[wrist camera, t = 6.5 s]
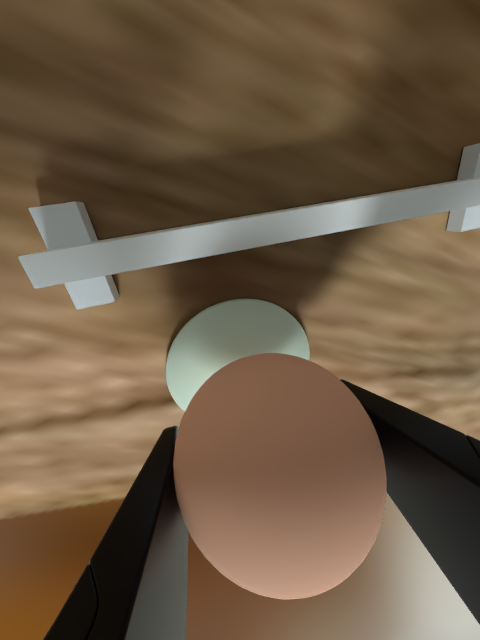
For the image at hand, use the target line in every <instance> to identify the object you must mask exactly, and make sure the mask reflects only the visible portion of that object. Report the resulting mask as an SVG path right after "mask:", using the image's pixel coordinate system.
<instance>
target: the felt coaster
mask: <svg viewBox="0 0 480 640" xmlns="http://www.w3.org/2000/svg"><path fill="white" fill-rule="evenodd" d="M261 353H282V354H288V355H293V356H297V357H300V358H304V359H306V360H309V357H310V351H309V343H308V340H307V336H306V334H305V332H304V330H303V328H302V327H301V325H300V324H299V323H298V321H297V320H296V319H295V318H294V317H293V316H292V315H291V314H289V313H288V312H287V311H286V310H284V309H283V308H281V307H279V306H278V305H275V304H273V303H270V302H268V301H264V300H260V299H251V298H244V299H233V300H228V301H224V302H221V303H218V304H215V305H213V306H210V307H208V308H206V309H205V310H203V311H201V312H200V313H198V314H197V315H195V316H194V317H193V318H192V319H190V320H189V321H188V322H187V323H186V324H185V325H184V326H183V327H182V329H181V330H180V331H179V333H178V334H177V336H176V337H175V339H174V341H173V342H172V345H171V347H170V350H169V353H168V358H167V364H166V380H167V385H168V388H169V391H170V393H171V395H172V397H173V399H174V400H175V402H176V403H177V404H178V405H179V407H180V408H181V409H182V410H184V411H186V409H187V407H188V405H189V403H190V401H191V399H192V398H193V396H194V395H195V393H196V392H197V391H198V390H199V388H200V387H201V386H202V385H203V384H204V382H205V381H206V380H207V379H208V378H209V377H211V376H212V375H213V374H214V373H215V372H217V371H218V370H220V369H221V368H222V367H224V366H226V365H228V364H229V363H231V362H233V361H236V360H238V359H240V358H243V357H247V356H250V355H256V354H261Z"/></svg>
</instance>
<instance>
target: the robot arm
mask: <svg viewBox="0 0 480 640" xmlns="http://www.w3.org/2000/svg"><path fill="white" fill-rule="evenodd" d="M340 381H342V382H343V383H344V384H345V385H346V386H347V387H348V388H349V389H350V391H351V392H352V393H353V394H354V395H355V396H356V398H357V399H358V400H359V401H360V403H361V405H362V406H363V408H364V409H365V411H366V413H367V414H368V416H369V418H370V419H371V421H372V424H373V426H374V428H375V430H376V433H377V435H378V438H379V441H380V445H381V448H382V452H383V455H384V462H385V469H386V478H387V488H386V492H387V493H388V494H389V496H390V497H391V499H392V500H393V502H394V503H395V504H396V506H397V507H398V509H399V510H400V511H401V513H402V514H403V516H404V517H405V519H406V520H407V522H408V523H409V524H410V526H411V527H412V529H413V530H414V531H415V533H416V534H417V536H418V537H419V539H420V540H421V542H422V543H423V544H424V546H425V547H426V548H427V550H428V552H429V553H430V554H431V556H432V557H433V559H434V560H435V561H436V563H437V564H438V566H439V567H440V569H441V570H442V572H443V573H444V574H445V576H446V577H447V579H448V580H449V582H450V583H451V584H452V586H453V587H454V588H455V590H456V591H457V593H458V594H459V596H460V597H461V599H462V600H463V601H464V603H465V604H466V606H467V607H468V609H469V610H470V611H471V613H472V614H473V616H474V617H475V619H476V620H477V621H478V623H479V624H480V441H479V440H477V439H475V438H473V437H470V436H468V435H466V436H465V434H463V433H461V432H459V431H457V430H455V429H452V428H450V427H448V426H446V425H443V424H441V423H439V422H437V421H434V420H432V419H430V418H428V417H425V416H423V415H421V414H419V413H416V412H414V411H412V410H410V409H408V408H405V407H403V406H401V405H399V404H396V403H394V402H392V401H390V400H387V399H385V398H383V397H381V396H378V395H376V394H374V393H372V392H370V391H367V390H365V389H363V388H361V387H358V386H356V385H354V384H352V383H349V382H347V381H345V380H340ZM178 430H179V428H178V427H177V426H173V427H169V428H166V429H164V430H163V432H162V434H161V435H160V437H159V439H158V441H157V443H156V444H155V446H154V448H153V450H152V451H151V453H150V455H149V457H148V458H147V460H146V462H145V464H144V465H143V467H142V469H141V471H140V473H139V474H138V476H137V478H136V480H135V481H134V483H133V485H132V487H131V488H130V490H129V492H128V494H127V496H126V497H125V499H124V501H123V503H122V504H121V506H120V508H119V510H118V512H117V513H116V515H115V517H114V518H113V520H112V522H111V524H110V526H109V527H108V529H107V531H106V533H105V535H104V536H103V538H102V540H101V541H100V543H99V545H98V547H97V549H96V550H95V552H94V554H93V556H92V557H91V559H90V564H88V565H87V566H86V568H85V569H84V571H83V573H82V575H81V577H80V578H79V580H78V582H77V584H76V585H75V587H74V589H73V591H72V592H71V594H70V596H69V597H68V599H67V601H66V602H65V604H64V606H63V608H62V609H61V611H60V613H59V615H58V616H57V618H56V620H55V621H54V623H53V625H52V626H51V628H50V630H49V631H48V632H47V634H46V636H45V637H44V639H43V640H186V606H187V564H188V528H187V526H186V524H185V522H184V519H183V516H182V513H181V510H180V507H179V504H178V501H177V496H176V490H175V484H174V470H173V460H174V450H175V442H176V437H177V434H178Z"/></svg>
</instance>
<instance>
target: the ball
mask: <svg viewBox="0 0 480 640" xmlns="http://www.w3.org/2000/svg"><path fill="white" fill-rule="evenodd" d="M173 470H174V484H175V490H176V496H177V501H178V504H179V507H180V510H181V513H182V516H183V519H184V522H185V524H186V526H187V528H188V530H189V532H190V534H191V536H192V538H193V540H194V542H195V543H196V544H197V546H198V548H199V549H200V550H201V552H202V553H203V554H204V556H205V557H206V558H207V559H208V560H209V561H210V562H211V563H212V564H213V565H214V566H215V567H216V569H217V570H218V571H220V572H221V573H222V574H223V575H224V576H225V577H227V578H228V579H230V580H231V581H233V582H234V583H235V584H237V585H239V586H240V587H242V588H245V589H247V590H249V591H251V592H254V593H256V594H259V595H262V596H267V597H273V598H277V599H298V598H307V597H311V596H314V595H318V594H321V593H323V592H325V591H328V590H329V589H331V588H333V587H335V586H337V585H338V584H340V583H341V582H342V581H344V580H345V579H346V578H347V577H348V576H350V574H351V573H352V572H353V571H354V570H355V569H356V568H357V567H358V566H359V565H360V564H361V563H362V562H363V560H364V559H365V557H366V556H367V554H368V552H369V551H370V549H371V547H372V545H373V544H374V542H375V540H376V537H377V534H378V532H379V528H380V526H381V523H382V520H383V515H384V509H385V503H386V488H387V478H386V469H385V462H384V455H383V452H382V448H381V445H380V441H379V438H378V435H377V433H376V430H375V428H374V426H373V424H372V421H371V419H370V418H369V416H368V414H367V413H366V411H365V409H364V408H363V406H362V405H361V403H360V401H359V400H358V399H357V398H356V396H355V395H354V394H353V393H352V392H351V391H350V389H349V388H348V387H347V386H346V385H345V384H344V383H343V382H342V381H340V380H339V379H338V378H337V377H336V376H334V375H333V374H332V373H330V372H329V371H327V370H326V369H324V368H323V367H321V366H319V365H317V364H315V363H313V362H311V361H309V360H306V359H304V358H300V357H297V356H293V355H288V354H282V353H261V354H256V355H250V356H247V357H243V358H240V359H238V360H236V361H233V362H231V363H229V364H228V365H226V366H224V367H222V368H221V369H220V370H218V371H217V372H215V373H214V374H213V375H212V376H211V377H209V378H208V379H207V380H206V381H205V382H204V384H203V385H202V386H201V387H200V388H199V390H198V391H197V392H196V393H195V395H194V396H193V398H192V399H191V401H190V403H189V405H188V407H187V409H186V411H185V413H184V415H183V417H182V420H181V423H180V426H179V430H178V434H177V437H176V442H175V450H174V460H173Z"/></svg>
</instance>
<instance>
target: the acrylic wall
mask: <svg viewBox="0 0 480 640" xmlns="http://www.w3.org/2000/svg"><path fill="white" fill-rule="evenodd" d="M28 209H29V211H30V213H31V215H32V217H33V219H34V222H35V224H36V226H37V228H38V230H39V232H40V234H41V236H42V238H43V240H44V242H45V244H46V247H47V249H48V250H45V251H40V252H36V253H32V254H27V255H23V256H19V257H18V259H19V261H20V263H21V264H22V266H23V268H24V270H25V272H26V274H27V276H28V277H29V279H30V281H31V283H32V285H33V287H34V289H37V288H42V287H48V286H53V285H58V284H65V286H66V288H67V290H68V292H69V295H70V297H71V299H72V301H73V303H74V305H75V307H76V309H82V308H87V307H92V306H97V305H102V304H107V303H112V302H115V301H116V300H117V299H118V298H119V297H120V296H119V294H118V291H117V288H116V286H115V283H114V281H113V278H112V274H117V273H122V272H128V271H133V270H138V269H144V268H149V267H154V266H160V265H165V264H170V263H176V262H181V261H186V260H192V259H197V258H202V257H208V256H213V255H218V254H224V253H229V252H234V251H240V250H245V249H250V248H256V247H261V246H266V245H272V244H277V243H282V242H288V241H293V240H298V239H303V238H309V237H314V236H319V235H325V234H330V233H335V232H341V231H346V230H351V229H357V228H362V227H367V226H373V225H378V224H383V223H389V222H394V221H399V220H405V219H410V218H415V217H421V216H426V215H431V214H437V213H442V212H447V211H450V215H449V220H448V225H447V229H446V231H458V232H461V231H466V230H471V229H476V228H480V143H478V144H474V145H470V146H466V147H464V149H463V154H462V158H461V163H460V168H459V173H458V177H457V180H456V181H450V182H444V183H439V184H433V185H427V186H421V187H415V188H409V189H403V190H397V191H391V192H385V193H379V194H373V195H367V196H361V197H355V198H349V199H343V200H337V201H331V202H325V203H319V204H313V205H308V206H302V207H296V208H290V209H284V210H278V211H272V212H266V213H260V214H254V215H248V216H242V217H236V218H230V219H224V220H218V221H212V222H206V223H200V224H194V225H188V226H182V227H176V228H171V229H165V230H159V231H153V232H147V233H141V234H135V235H129V236H123V237H117V238H111V239H105V240H99V241H98V239H97V236H96V234H95V231H94V229H93V226H92V224H91V221H90V218H89V216H88V213H87V211H86V208H85V205H84V203H83V202H76V201H74V202H67V203H60V204H53V205H46V206H39V207H33V208H28Z"/></svg>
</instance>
